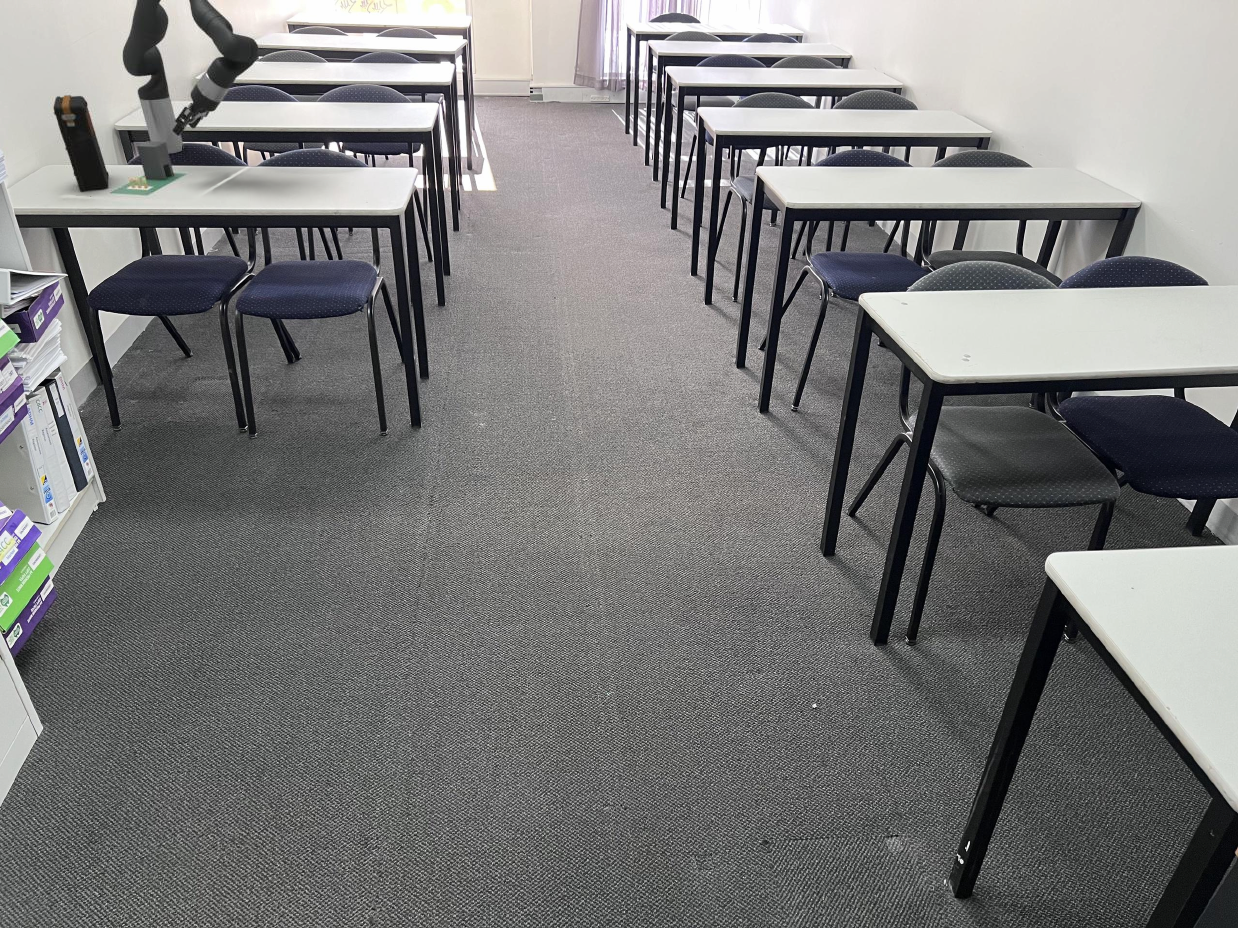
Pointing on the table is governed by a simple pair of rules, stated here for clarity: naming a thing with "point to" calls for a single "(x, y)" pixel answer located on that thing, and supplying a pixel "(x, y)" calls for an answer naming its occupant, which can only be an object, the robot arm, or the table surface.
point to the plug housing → (155, 160)
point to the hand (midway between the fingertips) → (183, 130)
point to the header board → (145, 185)
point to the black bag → (81, 142)
